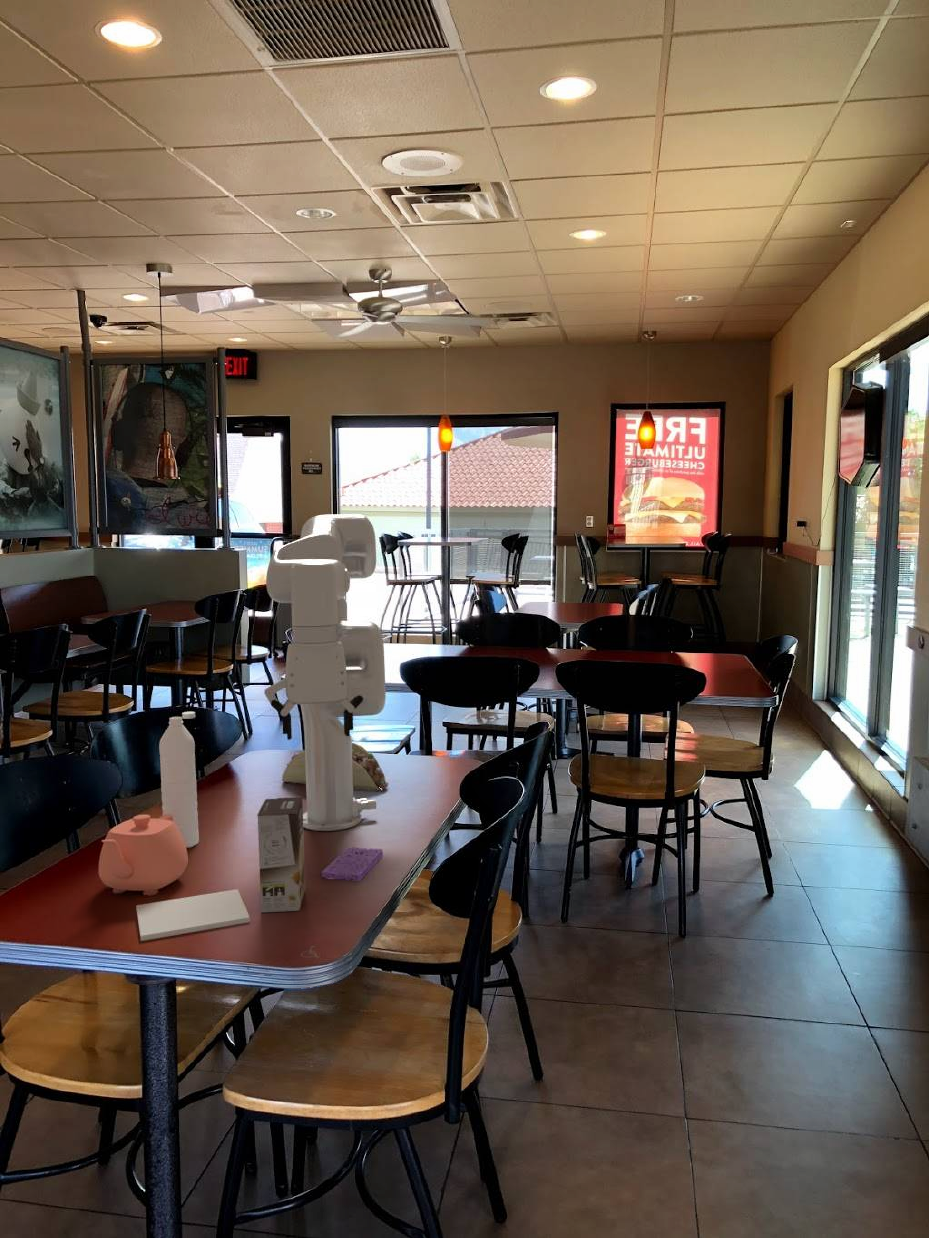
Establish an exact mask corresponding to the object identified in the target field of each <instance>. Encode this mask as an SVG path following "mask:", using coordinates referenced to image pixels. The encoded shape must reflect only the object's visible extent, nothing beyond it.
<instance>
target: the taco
mask: <svg viewBox="0 0 929 1238" xmlns="http://www.w3.org/2000/svg"><path fill="white" fill-rule="evenodd" d="M352 770H353V788H359V789H358V790H362V789H369V790H368V791H374V790H381V789H380V788H383V790H386V789H387V788H388V786H389V782H387V781H386V777H385V773H384V772H383V769H382V767H381V765H380V763H379V762H378V760H377V759H376V758H375V756H374V755H373V754H372V753H371V752H368V751H367V750H366V749H365V747H363V746H361V745H359V744H358V743H354V742H352ZM281 781H282V782H283V781H285V782H293V783H292V784H296V783H302V784H301V785H306V763H305V749H301V750H299V752H295V753H294V754H293V755H292V757H291V760H290V761H289V762H288V763H286V768H285V769H284V771H283V774H282V779H281ZM285 782H284V783H285ZM379 787H380V788H379Z"/></svg>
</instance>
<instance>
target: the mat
mask: <svg viewBox="0 0 929 1238" xmlns="http://www.w3.org/2000/svg"><path fill="white" fill-rule="evenodd" d="M245 905H246V904H245V903H244V900H243V899H242V896H241V894H240V891H239V889H238V888H236V889H230V890H224V891H218V892H212V893H206V894H200V895H193V896H188V897H187V896H186V897H181V898H175V899H167V900H161V901H155V902H150V903H143V904H137V905H136V908H135V909H136V916H137V923H138V929H139V930H138V931H139V936H140V937H139V939H140V942H144V941H151V940H155V939H160V938H166V937H167V938H168V937H171V936H172V937H173V936H179V935H183V934H190V933H195V932H201V931H207V930H212V929H216V928H224V927H229V926H235V925H241V924H246V923H251V920H250V919H251V918H250V915H249V913H248V910H247V908H246V906H245Z"/></svg>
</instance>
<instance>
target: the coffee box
mask: <svg viewBox="0 0 929 1238" xmlns="http://www.w3.org/2000/svg"><path fill="white" fill-rule="evenodd" d="M303 809H304V807H303V797H278V798H266V799H264V801H263V803H262V806H261V807H260V809H259V811H258V813H257V814H256V815H257V831H258V833H257V834H258V860H259V861H258V863H259V886H260V887H259V888H260V892H259V893H260V913H276V912H277V913H278V912H279V913H280V912H298V911H300V910H301V905H302V902H303V899H304V895H305V890H306V874H305V873H306V870H305V845H304V844H305V843H304V842H305V839H304V838H305V837H304V827H303V814H304V811H303Z"/></svg>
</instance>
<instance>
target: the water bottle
mask: <svg viewBox="0 0 929 1238" xmlns="http://www.w3.org/2000/svg"><path fill="white" fill-rule="evenodd" d="M181 715H182V716H171V717H169V719H168V720H169V722H168V724H169V725H168V726H167V729H165V731H164V733H163V735H162V737H161V738H160V740H159V743H158V745H159V746H158V748H159V749H158V750H159V755H160V756H159V760H160V762H159V763H160V780H161V782H160V788H161V789H160V791H161V803H162V804H161V808H162V815H164V814H171V815H172V816H173V822H174V823H175V824H176V826H177V828H178V830H179V831H180V833H181V835H182V838H183V840H184V843H185V846H186V849H187V848H188V849H189V848H193V847H195V846H196V845H198V844H199V841H200V837H199V835H200V834H199V833H200V832H199V820H198V817H199V813H198V812H199V811H198V800H197V799H198V794H197V793H198V792H197V778H196V777H197V773H196V772H197V771H196V754H195V752H196V751H195V750H196V748H195V747H196V744H195V739H194V737H193V735H192V734H191V733H190V731H189V730H188V729H187V727H185V725H184V724H183V723H184V721H183V719H184V720H185V719H195V718H196V712H195V711H184V712H182V713H181Z"/></svg>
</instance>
